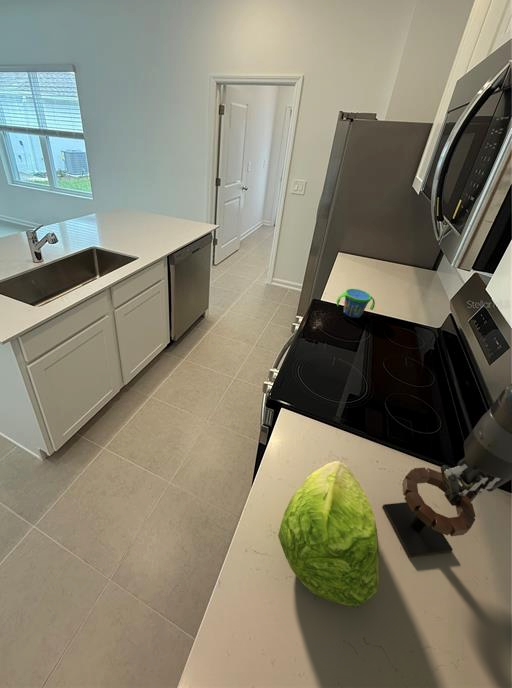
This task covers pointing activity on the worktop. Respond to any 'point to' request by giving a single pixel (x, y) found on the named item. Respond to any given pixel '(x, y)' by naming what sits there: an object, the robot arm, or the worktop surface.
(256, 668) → the worktop surface
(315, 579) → the lettuce
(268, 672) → the worktop surface
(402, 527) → the stand
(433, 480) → the ring
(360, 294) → the snack cup
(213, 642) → the worktop surface
